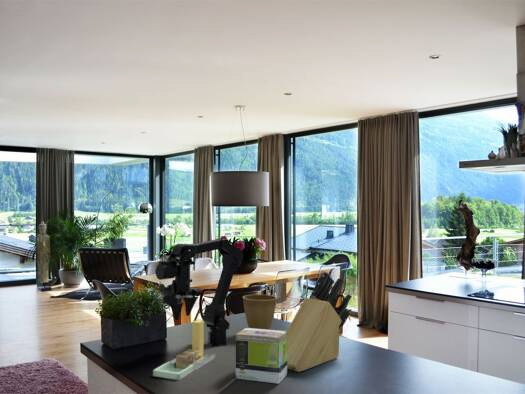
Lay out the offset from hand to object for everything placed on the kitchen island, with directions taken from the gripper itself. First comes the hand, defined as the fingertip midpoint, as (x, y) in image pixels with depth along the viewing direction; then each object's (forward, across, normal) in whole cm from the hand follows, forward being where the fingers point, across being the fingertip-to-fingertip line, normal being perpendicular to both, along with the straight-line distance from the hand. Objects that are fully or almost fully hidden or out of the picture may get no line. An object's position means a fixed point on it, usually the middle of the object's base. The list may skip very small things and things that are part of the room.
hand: (182, 318), depth 191 cm
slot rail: (+13, +12, +11) cm, 21 cm away
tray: (+13, +25, +12) cm, 30 cm away
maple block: (+12, +13, +11) cm, 21 cm away
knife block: (+13, -11, +49) cm, 52 cm away
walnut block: (+12, +18, +12) cm, 24 cm away
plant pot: (+14, -37, +17) cm, 43 cm away
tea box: (+13, +13, +38) cm, 42 cm away
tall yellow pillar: (+11, +9, +11) cm, 18 cm away
